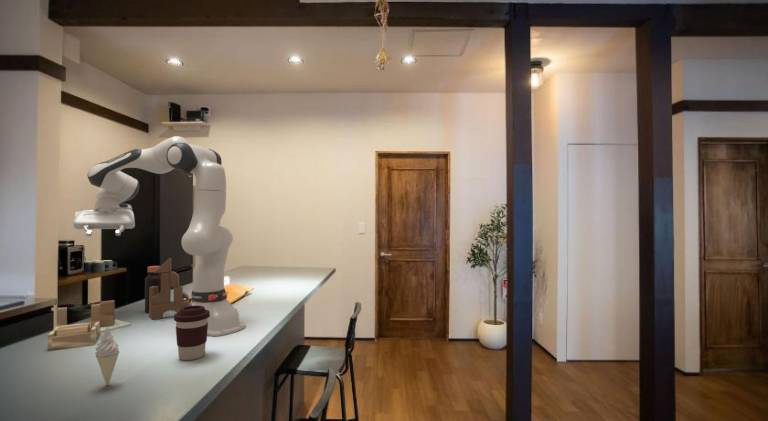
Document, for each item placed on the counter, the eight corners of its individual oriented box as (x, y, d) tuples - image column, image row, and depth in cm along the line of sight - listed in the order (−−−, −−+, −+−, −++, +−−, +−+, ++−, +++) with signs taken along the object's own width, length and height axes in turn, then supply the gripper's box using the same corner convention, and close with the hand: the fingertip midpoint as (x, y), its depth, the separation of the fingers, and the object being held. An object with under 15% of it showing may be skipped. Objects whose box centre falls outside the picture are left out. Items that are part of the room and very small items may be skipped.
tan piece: (57, 339, 133) (57, 308, 133) (100, 334, 139) (100, 304, 139) (47, 350, 123) (47, 316, 123) (94, 344, 128) (94, 311, 128)
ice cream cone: (103, 381, 101) (103, 324, 101) (123, 380, 101) (123, 323, 101) (90, 390, 96) (90, 330, 96) (111, 389, 96) (112, 329, 96)
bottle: (141, 312, 169) (141, 267, 169) (152, 309, 175) (153, 265, 175) (154, 313, 168) (154, 267, 168) (166, 309, 174) (166, 265, 174)
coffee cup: (173, 365, 112) (173, 313, 112) (174, 353, 120) (174, 306, 120) (210, 359, 116) (210, 309, 116) (208, 348, 125) (208, 302, 125)
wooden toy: (190, 312, 169) (190, 256, 169) (188, 316, 163) (188, 257, 163) (150, 316, 164) (150, 257, 164) (146, 320, 157) (146, 259, 158)
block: (100, 324, 149) (100, 301, 149) (114, 323, 152) (114, 300, 152) (98, 327, 145) (98, 303, 145) (113, 325, 148) (113, 302, 148)
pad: (131, 325, 150) (131, 323, 150) (95, 333, 140) (95, 332, 140) (116, 320, 157) (116, 319, 157) (81, 328, 146) (81, 326, 146)
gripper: (74, 204, 153) (68, 230, 144) (135, 205, 163) (133, 229, 154) (77, 215, 157) (71, 241, 148) (136, 215, 167) (134, 239, 158)
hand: (103, 235), depth 151 cm, fingers open, 8 cm apart
